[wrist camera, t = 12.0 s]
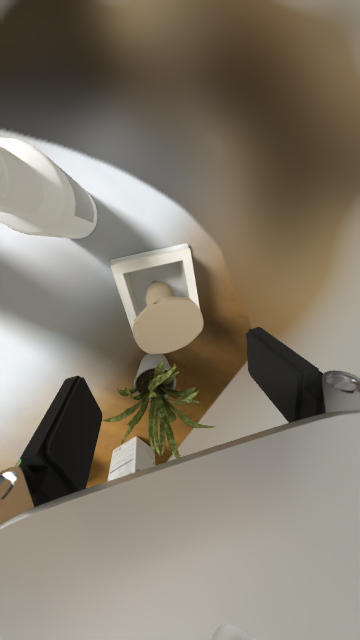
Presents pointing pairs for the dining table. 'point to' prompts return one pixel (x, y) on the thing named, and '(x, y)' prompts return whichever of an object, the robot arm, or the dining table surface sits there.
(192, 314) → the handle
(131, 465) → the supplement box
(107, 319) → the dining table surface
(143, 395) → the house plant
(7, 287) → the dining table surface
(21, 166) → the spray bottle
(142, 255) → the box
